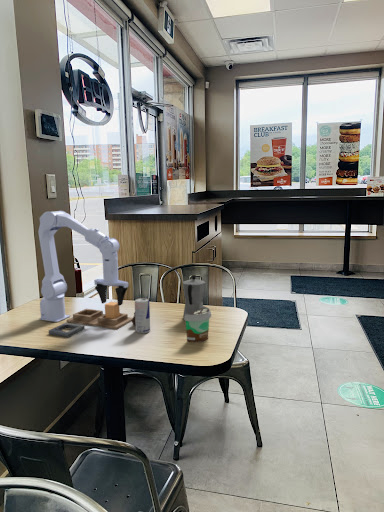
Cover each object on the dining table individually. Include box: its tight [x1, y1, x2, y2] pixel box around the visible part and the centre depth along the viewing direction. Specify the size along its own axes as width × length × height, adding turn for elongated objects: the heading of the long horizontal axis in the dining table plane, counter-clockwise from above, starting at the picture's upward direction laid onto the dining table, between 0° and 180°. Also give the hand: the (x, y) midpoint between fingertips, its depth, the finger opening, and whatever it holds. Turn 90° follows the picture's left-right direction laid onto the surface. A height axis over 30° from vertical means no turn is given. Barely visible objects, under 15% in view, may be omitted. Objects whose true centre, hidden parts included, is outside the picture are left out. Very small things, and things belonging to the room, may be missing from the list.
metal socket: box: [48, 322, 86, 339], centre depth 143 cm, size 9×9×2 cm
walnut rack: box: [66, 308, 133, 330], centre depth 155 cm, size 24×12×3 cm, turn 67°
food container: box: [183, 305, 212, 343], centre depth 134 cm, size 12×6×10 cm, turn 148°
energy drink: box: [134, 297, 151, 334], centre depth 142 cm, size 5×5×12 cm
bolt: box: [131, 311, 136, 328], centre depth 155 cm, size 6×5×15 cm
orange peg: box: [104, 301, 121, 319], centre depth 152 cm, size 4×4×7 cm
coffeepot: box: [182, 274, 206, 320], centre depth 155 cm, size 15×9×18 cm, turn 168°
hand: (112, 303), depth 151 cm, fingers open, 7 cm apart
